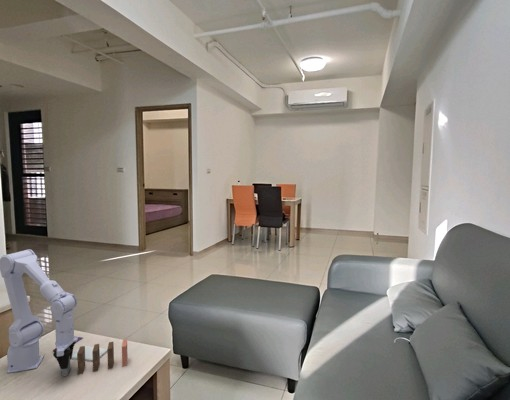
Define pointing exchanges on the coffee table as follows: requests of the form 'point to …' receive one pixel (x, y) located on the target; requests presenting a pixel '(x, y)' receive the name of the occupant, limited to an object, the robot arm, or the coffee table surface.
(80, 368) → the domino
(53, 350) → the snack package
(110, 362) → the domino
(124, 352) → the domino
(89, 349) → the hard drive
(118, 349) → the coffee table surface
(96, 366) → the domino
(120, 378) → the coffee table surface
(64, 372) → the domino
